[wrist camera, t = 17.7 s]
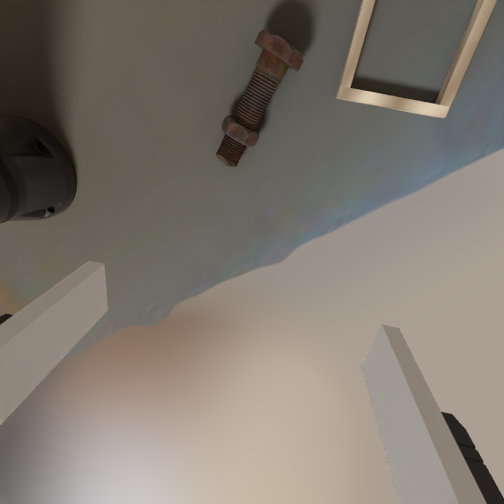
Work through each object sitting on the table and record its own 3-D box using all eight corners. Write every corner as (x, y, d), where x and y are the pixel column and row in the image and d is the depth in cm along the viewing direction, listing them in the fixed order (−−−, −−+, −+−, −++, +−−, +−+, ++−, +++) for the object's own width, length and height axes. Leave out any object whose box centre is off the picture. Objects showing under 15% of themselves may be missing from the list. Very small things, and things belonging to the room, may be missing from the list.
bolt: (226, 154, 42) (279, 45, 35) (249, 173, 40) (310, 62, 33) (199, 149, 37) (253, 21, 30) (223, 170, 35) (288, 39, 28)
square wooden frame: (335, 98, 35) (337, 97, 34) (373, -42, 29) (377, -50, 28) (439, 117, 35) (445, 118, 34) (498, -21, 29) (508, -27, 28)
